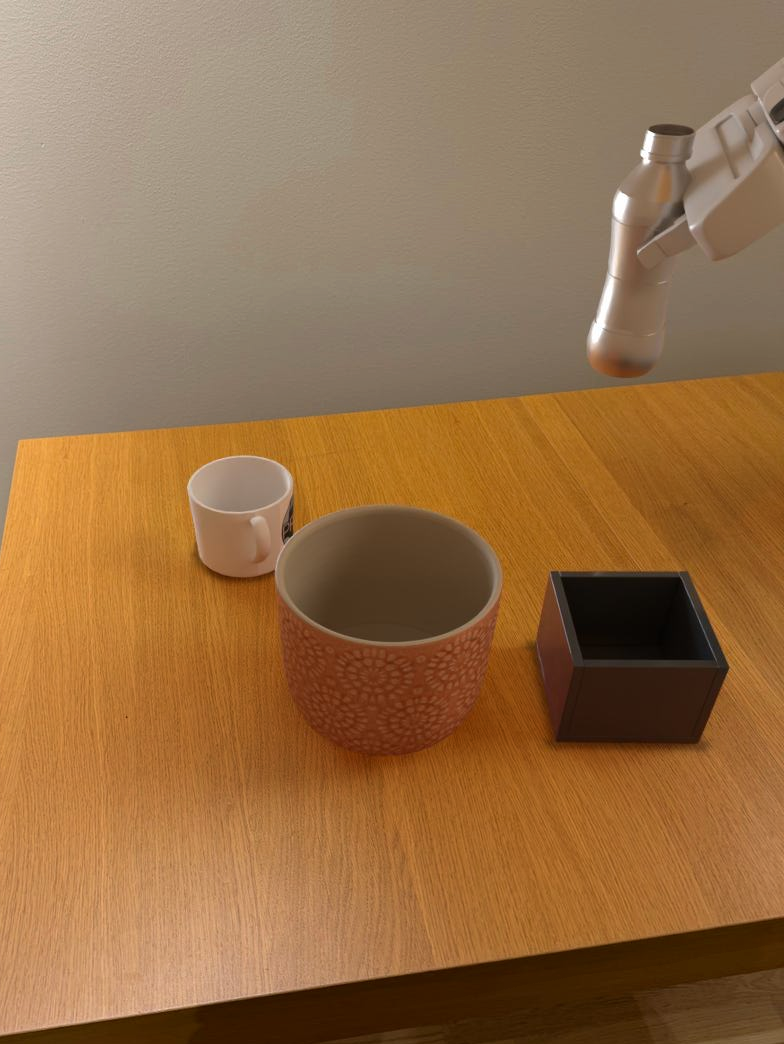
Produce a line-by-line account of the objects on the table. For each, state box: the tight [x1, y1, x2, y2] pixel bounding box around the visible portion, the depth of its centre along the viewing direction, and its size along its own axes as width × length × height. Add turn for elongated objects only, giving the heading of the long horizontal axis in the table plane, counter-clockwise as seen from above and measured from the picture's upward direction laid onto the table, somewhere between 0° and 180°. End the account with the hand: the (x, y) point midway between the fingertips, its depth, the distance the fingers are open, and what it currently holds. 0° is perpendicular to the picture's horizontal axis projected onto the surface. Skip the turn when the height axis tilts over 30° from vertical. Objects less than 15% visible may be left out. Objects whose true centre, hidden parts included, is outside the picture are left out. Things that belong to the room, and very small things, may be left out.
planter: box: [274, 504, 504, 757], centre depth 74 cm, size 17×17×15 cm
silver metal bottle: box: [586, 123, 697, 379], centre depth 78 cm, size 6×7×20 cm
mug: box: [186, 455, 295, 579], centre depth 92 cm, size 13×10×8 cm
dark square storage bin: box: [534, 570, 731, 744], centre depth 77 cm, size 12×12×9 cm
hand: (638, 244), depth 77 cm, fingers closed on silver metal bottle, 6 cm apart
